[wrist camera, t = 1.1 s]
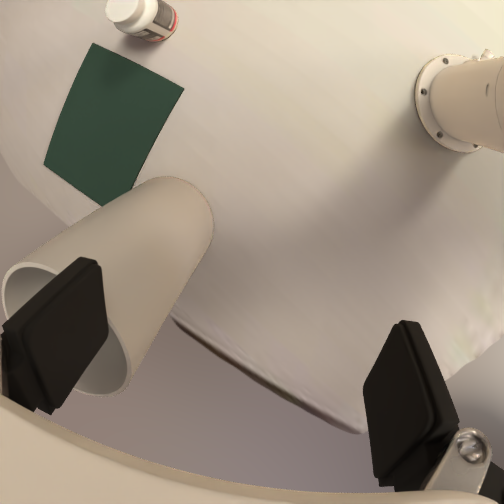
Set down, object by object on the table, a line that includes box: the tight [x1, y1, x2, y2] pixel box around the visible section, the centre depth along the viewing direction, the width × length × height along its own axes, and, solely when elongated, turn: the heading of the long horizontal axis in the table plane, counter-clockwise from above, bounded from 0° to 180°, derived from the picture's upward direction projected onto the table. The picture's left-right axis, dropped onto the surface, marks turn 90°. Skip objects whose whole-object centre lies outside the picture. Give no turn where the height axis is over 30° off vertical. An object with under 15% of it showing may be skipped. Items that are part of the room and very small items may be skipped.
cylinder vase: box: [2, 177, 214, 397], centre depth 31 cm, size 12×12×25 cm
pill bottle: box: [105, 0, 178, 42], centre depth 27 cm, size 5×5×10 cm
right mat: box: [43, 43, 184, 206], centre depth 38 cm, size 20×16×1 cm
